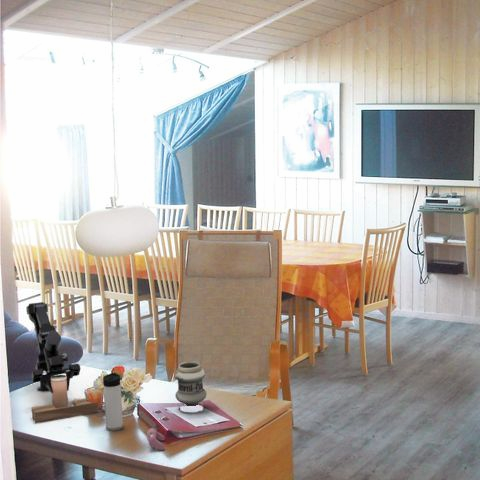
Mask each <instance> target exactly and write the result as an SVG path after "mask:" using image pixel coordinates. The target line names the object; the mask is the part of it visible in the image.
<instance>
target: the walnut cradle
mask: <svg viewBox="0 0 480 480" xmlns="http://www.w3.org/2000/svg"><path fill="white" fill-rule="evenodd" d="M86 398H87V397H86ZM86 398H79V399H74V400H72V405H68V407H62V408H55V407H54V405H53V403H51V404H49V403H48V404H44V405H38V406H32V407H31V416H32V420H33V421H34V422H35V424H39V423H40V424H41V423H45V422H46V423H47V422H51V421H56V420H63V419H67V418H73V417H80V416H85V415H91V414H95V413H94V412H97V413H99V405H98V401H97V402H96V403H91V402H87V400H86Z"/></svg>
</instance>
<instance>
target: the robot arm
mask: <svg viewBox="0 0 480 480" xmlns="http://www.w3.org/2000/svg"><path fill="white" fill-rule="evenodd" d="M48 308H49V307H48V303H45V302H44V301H43V302H40V301H39V302H33V303H28V305H27V306H26V309H25V310H26V314H27V315H28V319H29V320H30V321H31V323H32V324H33V326H34V330H35V331H34V332H35V337H36V343H37V348H38V354H39V355H38V357H37V360H36V363H35V368H34V369H33V370H32V372H31V382H32V383H37V382H39V384H40V386H39V387H38V388H37V389H36V390H37V391H47V392H48V391H49V392H50V393H51V394H52V393H53V390H52V386H51V377H52V376H56V375H64V374H65V376H67V392H69V390H70V381H71V379H73V378H74V377H78V376H79V375H80V371H81V365H80V364H79V363H70V364H69V365H68V367H67V368H64V363H66V362H68V361H69V357H68V354H67V353H68V352H67V353H62V354H61V353H60V350H59V349H60V346H61V342H62V335H60V334H59V332H58V331H57V330H56V327H55V326H54V325H52V324H51V322H50V319H49V315H48V312H49V309H48Z"/></svg>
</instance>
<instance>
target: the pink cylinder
mask: <svg viewBox="0 0 480 480" xmlns="http://www.w3.org/2000/svg"><path fill="white" fill-rule="evenodd" d="M51 386H52V390H53V393H51V398H52V399H51V401H52V404H53V405H54V407H55V408H62V407H68V406H69V398H68V391H67V376H66V374H65V375H64V374H58V375H53V376H52V377H51Z"/></svg>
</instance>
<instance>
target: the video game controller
mask: <svg viewBox="0 0 480 480" xmlns="http://www.w3.org/2000/svg"><path fill="white" fill-rule="evenodd" d="M146 436H147V437H146V439H147V441H148V444H149V445H150V446H151V447H152V448H153V449H155V450H159V451H164V450H165V449H166V448H165V445H164V443H162V442H163V441H164V440H165V436H164V434H162V433H160V432H159V431H157V429H156V428H154V427H152V428H149V429H147V433H146Z"/></svg>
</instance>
